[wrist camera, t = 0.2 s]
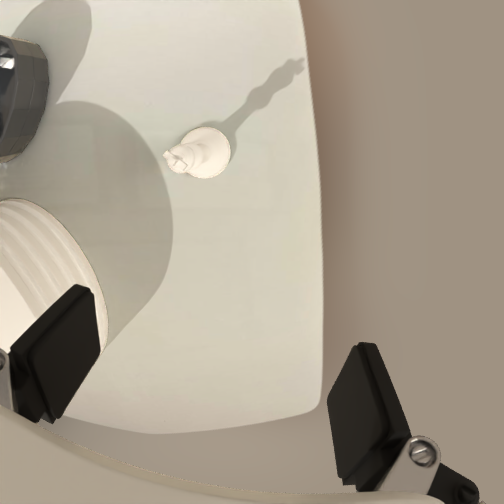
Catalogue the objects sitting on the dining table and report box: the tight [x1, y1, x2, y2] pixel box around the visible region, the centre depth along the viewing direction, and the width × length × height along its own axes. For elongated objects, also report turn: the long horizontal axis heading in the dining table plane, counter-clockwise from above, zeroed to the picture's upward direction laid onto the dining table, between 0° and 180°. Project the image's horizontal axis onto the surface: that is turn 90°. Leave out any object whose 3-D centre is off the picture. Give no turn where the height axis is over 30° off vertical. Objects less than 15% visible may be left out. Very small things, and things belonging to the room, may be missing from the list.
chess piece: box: [163, 127, 231, 178], centre depth 22 cm, size 5×5×10 cm
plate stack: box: [0, 199, 108, 409], centre depth 29 cm, size 28×28×12 cm
